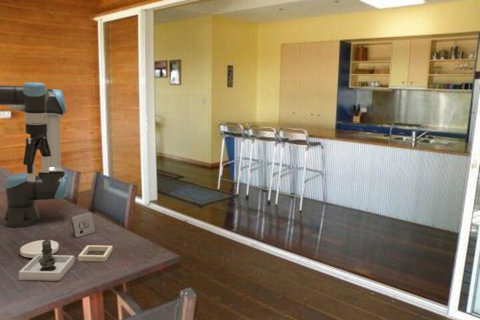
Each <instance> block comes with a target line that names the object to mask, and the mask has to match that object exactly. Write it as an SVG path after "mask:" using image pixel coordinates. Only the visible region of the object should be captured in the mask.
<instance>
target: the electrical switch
mask: <svg viewBox="0 0 480 320" xmlns="http://www.w3.org/2000/svg"><path fill="white" fill-rule="evenodd" d="M70 222H71V228H72V233H73V236H75V238H80V237H83V236H87V235H91V234H93V233H95V232H96V229H95V224H94V223H95V222H94V219H93V214H92V212H87V213H83V214H79V215H75V216H72V218H70Z"/></svg>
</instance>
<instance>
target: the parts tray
mask: <svg viewBox="0 0 480 320" xmlns="http://www.w3.org/2000/svg"><path fill="white" fill-rule="evenodd" d="M52 256H53V257H56V262H55V264H54V266H55V267H56V269H55V270H53V271H40V269H41V268H42V266H41V265H40V263H39V260H40V259H41V258H42V257H43V255H36V256H35V257H34V258H31V260H30V261H29V262H27V263H26V264H25V265H24V266H23V267H22V268H21V269H20V270H18V279H19V281H46V282H47V281H49V282H53V281H55V282H60V281H61V280H62V279H63V278H64V276H65V275H66V274H67V273H68V271H69V270H71V268H72V267H73V265H74V264H75V255H67V254H66V255H64V254H63V255H59V254H58V255H57V254H56V255H55V254H52Z"/></svg>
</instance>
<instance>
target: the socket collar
mask: <svg viewBox="0 0 480 320" xmlns="http://www.w3.org/2000/svg"><path fill="white" fill-rule="evenodd" d="M113 246H114V245H98V244H97V245H93V244H92V245H91V244H90V245H89V244H87V245H86V246H85V247H84V248H83V249H82V251H81V252H80V253H79V254H78V256H77V259H78V261H79V262H106V261H107V260H108V258H109V257H110V255H111V253H112V252H113V251H114V248H113ZM89 252H104V253H103V255H102V254H100V255H99V254H97V255H96V254H89Z"/></svg>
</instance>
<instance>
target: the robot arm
mask: <svg viewBox="0 0 480 320" xmlns="http://www.w3.org/2000/svg"><path fill="white" fill-rule="evenodd" d="M65 100H66V99H65V96H64V92H63V91H62V90H61V89H54V88H46V84H45V83H43V82H34V81H33V82H32V81H31V82H30V81H29V82H28V81H25V83H24V84H23V85H0V106H7V107H9V108H11V109H12V110H15V111H18V112H23V113H24V122H25V133H26V134H27V135H30V136H29V137H28V138H27V137H26V139H25V151H24V155H23V156H24V157H23V163H22V164H23V165H24V166H26V172H20V173H16V174H13V175H10V176H8V177H7V178H6V179H5V195H6V205H7V206H6V207H7V208H6V212H5V215H4V218H3V219H4V220H3V223H4V224H3V225H4V226H6V227H8V228H9V227H10V228H23V227H30V226H33V225H35V224H38V223H39V222H40V221H41V218H40V217H41V216H40V213H39V211H38V209H37V206H36V201H48V200H61V199H64V198H65V197H66V195H67V191H68V190H67V189H68V183H69V182H68V181H69V175H68V174H65V169H63V168H62V155H61V154H62V151H61V148H62V147H61V119H63V118H64V114H66V113H67V107H66V101H65ZM38 151H39V152H40V155H41V156H40V163H41V164H40V166H41V169H40V170H39V171H37V172H38V173H37V174H38V175H36V166H35V164H34V163H35V160H36V155H37V152H38Z"/></svg>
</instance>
